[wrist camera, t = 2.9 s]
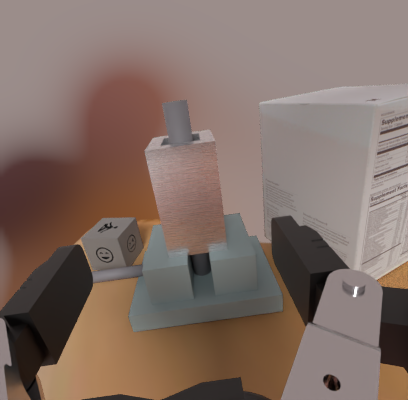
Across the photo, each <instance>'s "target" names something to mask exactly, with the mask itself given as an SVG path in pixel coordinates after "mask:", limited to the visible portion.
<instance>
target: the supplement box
mask: <svg viewBox="0 0 408 400" xmlns="http://www.w3.org/2000/svg"><path fill="white" fill-rule="evenodd" d="M259 109H260V129H261V149H262V172H263V196H264V197H263V198H264V223H265V237H266V238H267V239H269V240H270V241H272V239H271V220H272V218H274V217H281V216H289V215H291V216H292V217H293V219H294V220H295V221H296V222H297V224H298V225H299V226H303V225H306V226H308V227H310V228H312V229H314V230H315V231H317V232H318V233H319V234H320V236H321V237H322V238H323V240H325V241H326V242H327V243H328V245H329V247H331V248H332V249H333V250H334V251H335V252H336V254H337V255H338V256H339V257H340V258H341V259H342V260H343V261H344V263H345V264H346V265H347V266H348V267H349V268H350V269H353V270H357V271H361V272H363V273H366V274H368V275H370V276H371V277H373V278H374V279H375V280H377V279H379V278H381V277H382V276H384V275H385V274H387V273H389V272H390V271H392V270H394V269H395V268H397V267H399V266H400V265H402V264H403V263H405V262H407V261H408V84H393V85H376V86H357V87H338V88H332V89H327V90H322V91H316V92H311V93H306V94H300V95H296V96H290V97H285V98H279V99H274V100H270V101H265V102H261V103H260V104H259Z"/></svg>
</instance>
